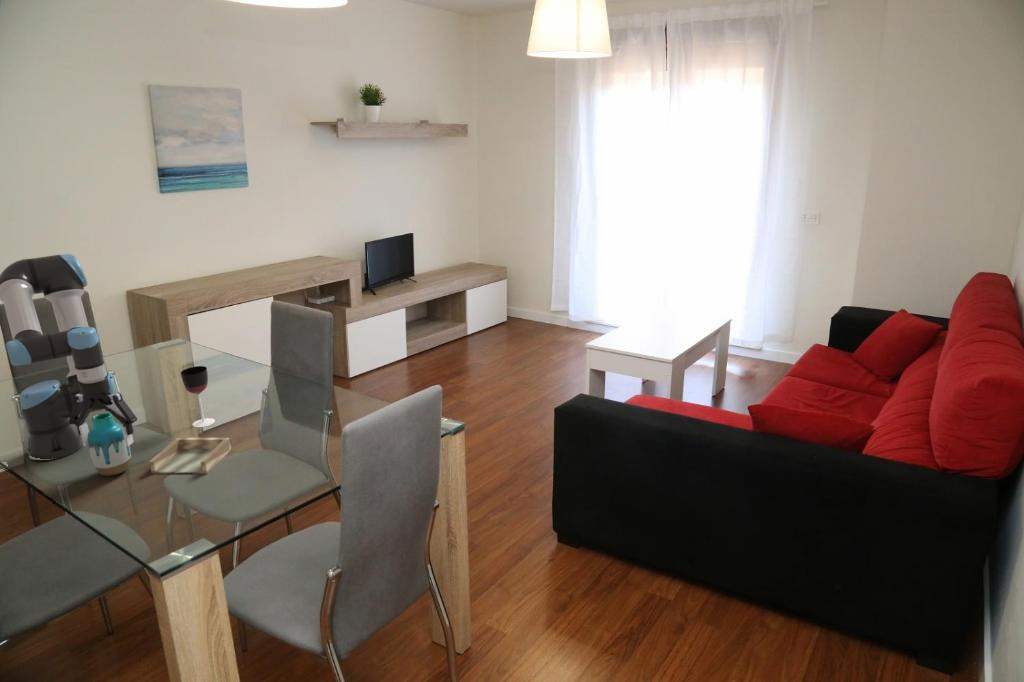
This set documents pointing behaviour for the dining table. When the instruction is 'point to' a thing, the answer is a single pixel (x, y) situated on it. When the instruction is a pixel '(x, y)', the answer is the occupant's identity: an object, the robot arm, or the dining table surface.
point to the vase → (108, 445)
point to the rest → (191, 455)
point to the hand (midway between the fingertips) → (108, 444)
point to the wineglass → (197, 388)
